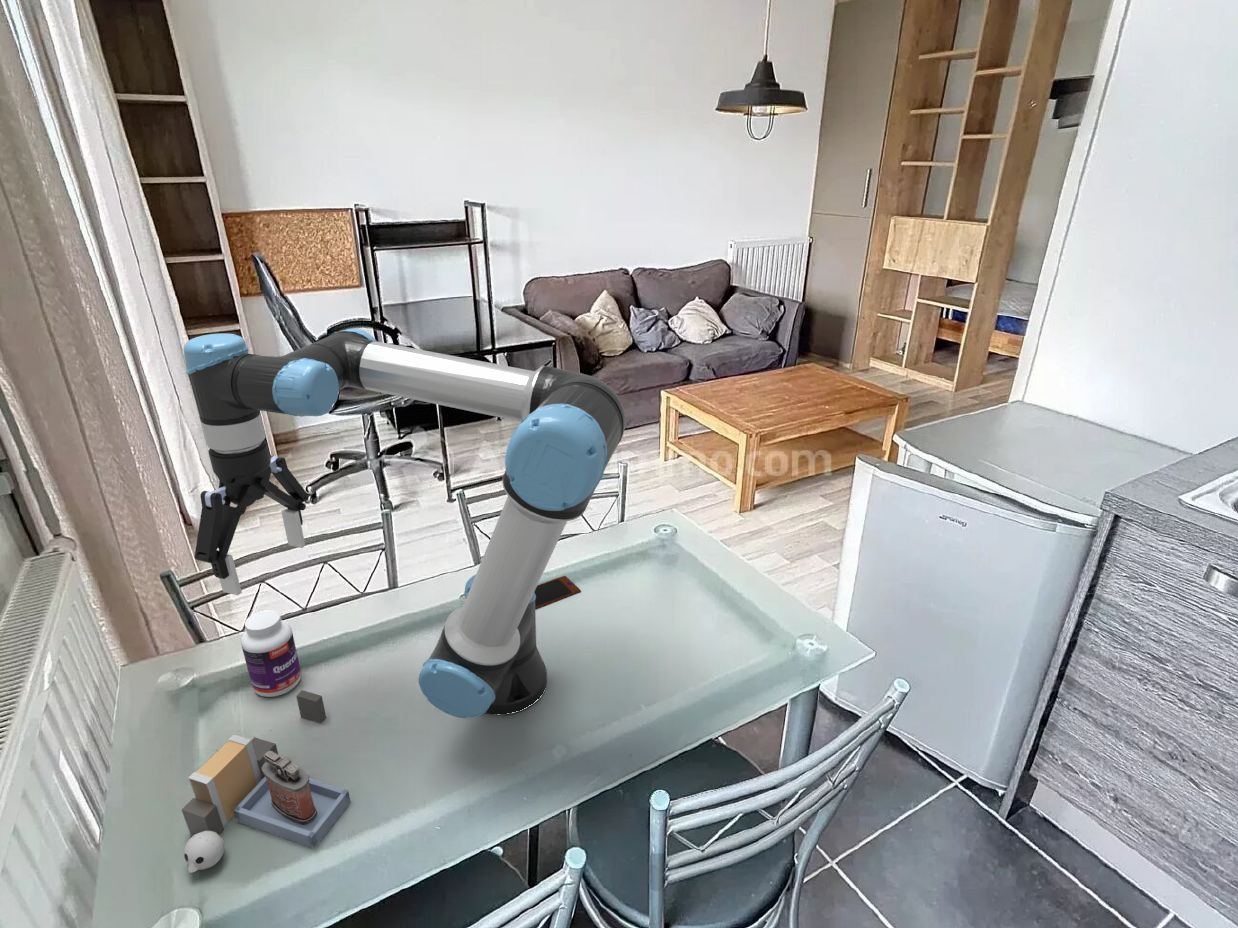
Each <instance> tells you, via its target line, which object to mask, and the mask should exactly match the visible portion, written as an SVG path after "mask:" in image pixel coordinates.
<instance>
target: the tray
mask: <svg viewBox="0 0 1238 928" xmlns="http://www.w3.org/2000/svg"><path fill="white" fill-rule="evenodd" d="M309 780H310V781H309V787H310V791H311V795H312V799H313V803H314V806H315V807H316V809H317V817H316V818H315V820H314V821H312V822H311V823H309V824H307V825H301V824H298V823H295V822H292V821H290V820H288V819H286V818H284V817H283V816H282V815H280V814H279V813H278V812H277V811H276V810H275V809H274V808H273V806H272V804H271V794H270V791H269V787H268V784H267V780H266V777H264V778H263V779H262V780H261V781H260V782H259V784H258V785H257V786H256V787H255V788H254V789H253V790H252V791H251V792H250V793H249V794H248V795H247V796H246V798H245V799H244V800H243V801H242V802H241V803H240V804H239V805H238V806H237V807H236V808H235V809H234V817H235V819H236V822H237V823H240V824H243V825H245V826H248V827H251V828H254V829H257V830H260V831H263V832H266V833H269V834H271V835H273V836H278V837H279V838H283V839H286V840H288V841H291V842H294V843H296V844H299V845H303V846H306V847H308V848H311V849H314V848H315V847H316V846H317V847H318V845H319V844H320V843H321V841H322V840H323V839H324V838H325V836H326V834H328V833H329V831H330V830H331V828H332V827H333V826H334V825H335V823H336V822H337V821H338V819H339V818H340V817H341V815H342V814H343V813H342V812H344V811H345V810H346V809H347V807H348V806H349V805H350V803H351V797H350V796H351V795H350V794H349V790H348V789H345V788H341V787H338V786H335V785H331V784H328V783H326V782H322V781H320V780H316V779H314V778H310V777H309ZM348 804H349V805H348ZM345 808H346V809H345ZM335 821H336V822H335ZM332 825H333V826H332ZM323 837H324V838H323ZM319 842H320V843H319ZM318 843H319V844H318ZM317 847H316V848H317ZM316 848H315V849H316Z"/></svg>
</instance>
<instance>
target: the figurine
mask: <svg viewBox="0 0 1238 928" xmlns="http://www.w3.org/2000/svg"><path fill="white" fill-rule="evenodd" d="M224 852H225V841H224V839H223V837H222V836H221V834H220V835H219V834H218V833H216V832H213V831H203V832H200V833H197V834H195V835H192V837H190V838H189V839H188V841H187V842H186V844H185V846H184V848H183V859H184V861H185V862H186V865H188V868H187V871H188V873H195V872H197V871H199V870H200V871H201V870H202V871H204V870H206V869H209V868H212V867H214V866H215V865H216V864H217V863H218V862H219V861H220V860H221V859H222V857H223V854H224Z"/></svg>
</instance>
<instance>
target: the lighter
mask: <svg viewBox="0 0 1238 928" xmlns="http://www.w3.org/2000/svg"><path fill="white" fill-rule="evenodd" d="M264 758H265V763H264V764H263V766H262V772H263V774H264V776H265V777H266V780H267V784H268V787H269V791H270V794H271V804H272V806H273V808H274V809H275V810H276V811H277V812H278V813H279V814H280V815H282V816H283V817H284V818H286V819H288V820H290V821H292V822H295V823H298V824H301V825H307V824H309V823H311V822H312V821H314V820H315V818H316V817H317V809H316V807H315V806H314V803H313V799H312V795H311V791H310V787H309V781H310V780H309V778H310V776H309V775H308V774H307V772H305V770H304V769H303V768H301V767H300V766H298V765H297V764H295V763H294V762H293V761H292V760H291V758H290V757H288V756H285V757H283V756H280V754H279V755H277V754H276V753H274V752H272V751H268V752H267V753H266V754H265V755H264Z"/></svg>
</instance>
